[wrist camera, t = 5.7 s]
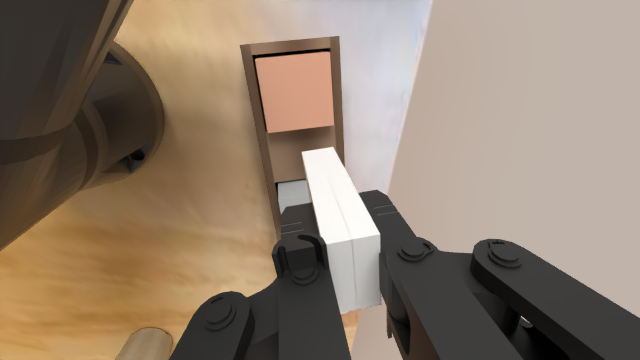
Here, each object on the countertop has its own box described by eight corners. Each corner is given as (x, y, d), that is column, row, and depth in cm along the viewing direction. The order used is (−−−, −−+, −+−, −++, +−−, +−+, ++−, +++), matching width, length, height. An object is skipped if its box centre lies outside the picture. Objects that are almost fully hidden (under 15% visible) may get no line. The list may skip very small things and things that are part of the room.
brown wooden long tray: (289, 280, 41) (291, 308, 37) (245, 44, 26) (239, 45, 22) (342, 270, 42) (350, 297, 38) (328, 36, 27) (339, 36, 23)
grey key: (285, 220, 33) (286, 248, 28) (277, 176, 30) (278, 199, 25) (334, 213, 33) (343, 239, 29) (331, 169, 30) (340, 190, 26)
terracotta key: (269, 118, 28) (267, 133, 24) (258, 56, 26) (255, 59, 21) (325, 112, 29) (334, 125, 25) (320, 50, 26) (330, 52, 22)
